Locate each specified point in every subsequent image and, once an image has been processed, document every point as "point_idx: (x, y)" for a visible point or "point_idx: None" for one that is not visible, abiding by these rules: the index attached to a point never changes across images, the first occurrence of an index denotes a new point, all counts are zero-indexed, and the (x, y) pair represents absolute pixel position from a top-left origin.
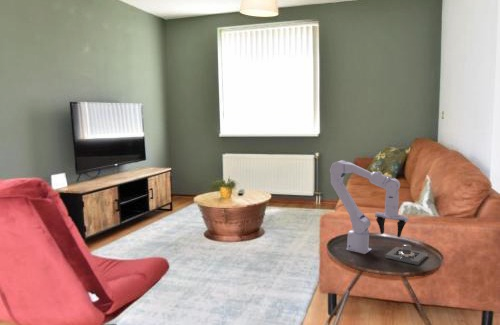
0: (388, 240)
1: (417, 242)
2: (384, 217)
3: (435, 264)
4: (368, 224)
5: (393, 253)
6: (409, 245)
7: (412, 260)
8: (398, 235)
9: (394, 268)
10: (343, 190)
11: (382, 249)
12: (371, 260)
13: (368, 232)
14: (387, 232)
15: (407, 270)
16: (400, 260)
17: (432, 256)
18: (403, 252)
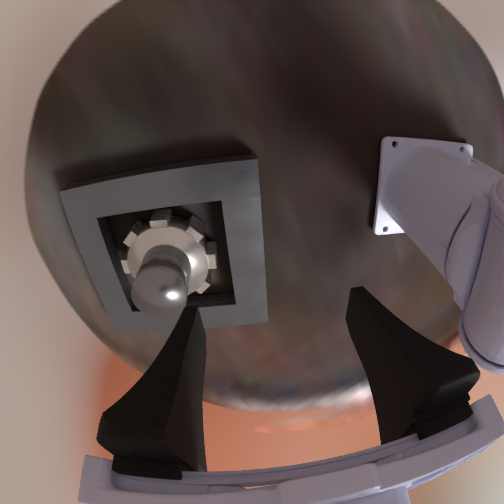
0: (336, 371)
1: (240, 406)
2: (395, 450)
3: (45, 259)
4: (486, 314)
5: (226, 217)
6: (146, 306)
7: (84, 186)
8: (185, 314)
9: (128, 35)
10: None
11: (327, 276)
12: (306, 55)
13: (453, 252)
14: (355, 409)
15: (66, 73)
16: (154, 167)
17: (113, 333)
18: (171, 249)
